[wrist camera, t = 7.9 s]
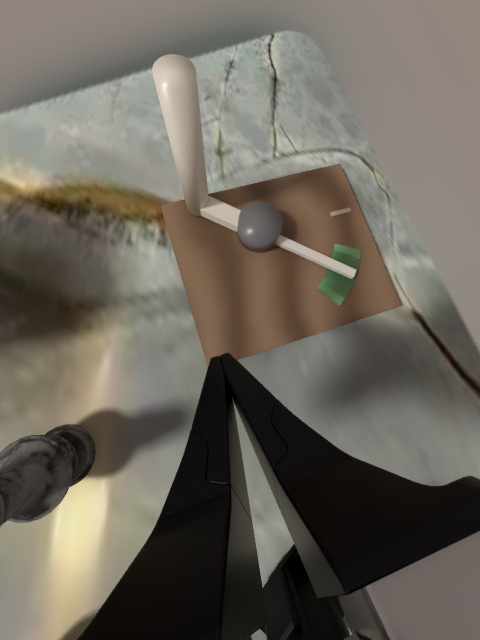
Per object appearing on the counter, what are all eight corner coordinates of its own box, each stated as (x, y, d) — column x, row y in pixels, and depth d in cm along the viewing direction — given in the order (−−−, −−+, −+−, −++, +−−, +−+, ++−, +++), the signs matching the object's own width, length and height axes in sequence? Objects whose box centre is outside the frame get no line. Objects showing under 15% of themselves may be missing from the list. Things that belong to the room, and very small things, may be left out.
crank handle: (178, 217, 22) (135, 90, 12) (197, 185, 23) (173, 36, 12) (344, 293, 22) (457, 237, 12) (358, 258, 23) (475, 174, 12)
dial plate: (209, 368, 21) (208, 369, 20) (162, 211, 24) (159, 203, 23) (394, 307, 24) (403, 304, 23) (336, 170, 26) (341, 162, 25)
